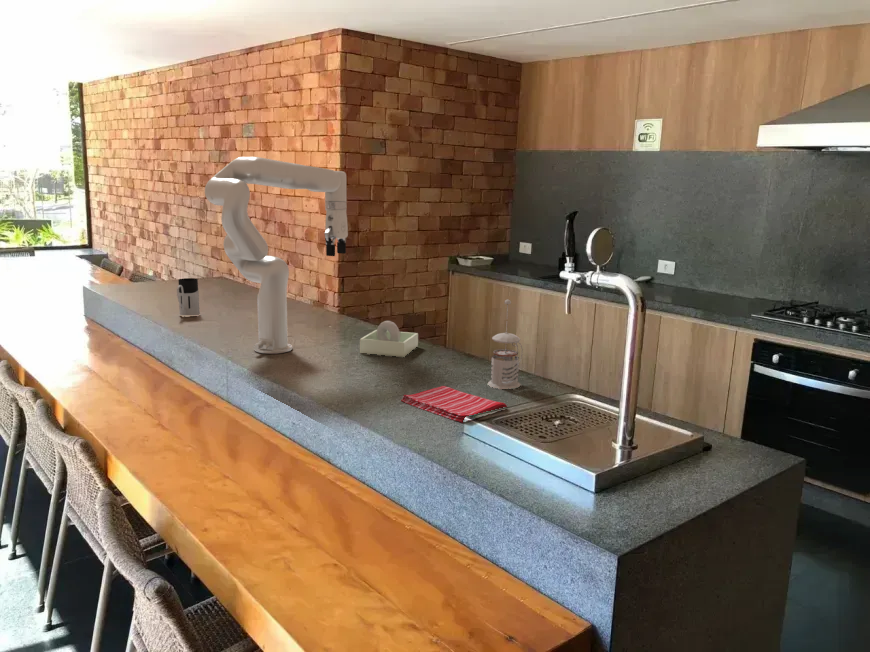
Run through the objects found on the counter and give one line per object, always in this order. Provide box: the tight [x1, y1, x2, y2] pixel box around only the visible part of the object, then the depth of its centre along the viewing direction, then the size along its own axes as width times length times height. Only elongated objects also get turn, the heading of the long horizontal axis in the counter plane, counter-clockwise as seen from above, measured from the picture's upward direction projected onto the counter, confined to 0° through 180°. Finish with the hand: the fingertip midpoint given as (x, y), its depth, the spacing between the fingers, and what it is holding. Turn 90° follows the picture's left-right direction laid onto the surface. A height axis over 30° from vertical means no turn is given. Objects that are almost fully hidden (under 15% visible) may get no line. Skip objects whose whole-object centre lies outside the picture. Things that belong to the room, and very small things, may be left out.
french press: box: [487, 299, 524, 390], centre depth 203 cm, size 10×12×25 cm
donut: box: [376, 320, 401, 342], centre depth 240 cm, size 10×3×10 cm, turn 48°
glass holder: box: [176, 277, 201, 315], centre depth 290 cm, size 9×14×15 cm, turn 174°
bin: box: [359, 329, 419, 358], centre depth 242 cm, size 16×16×5 cm
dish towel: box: [400, 385, 508, 424], centre depth 185 cm, size 17×24×3 cm
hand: (336, 254), depth 255 cm, fingers open, 9 cm apart
